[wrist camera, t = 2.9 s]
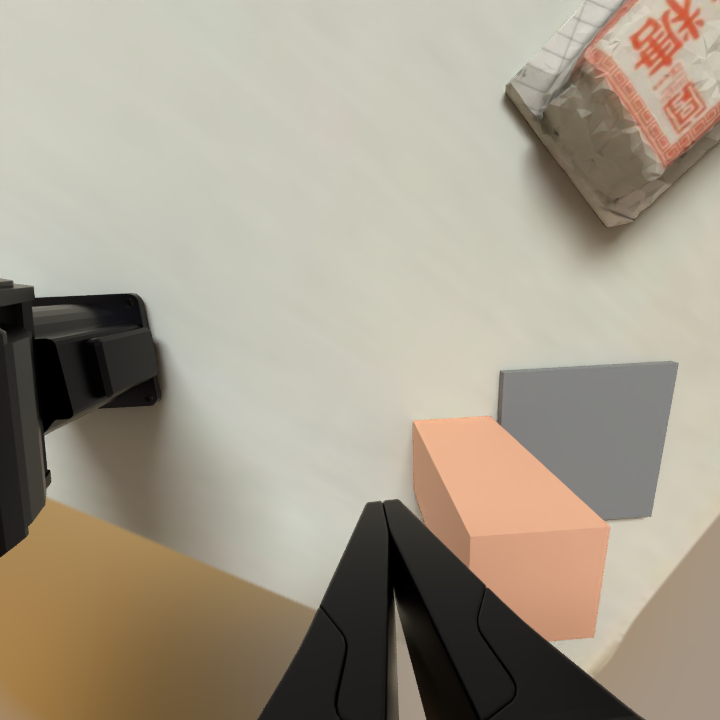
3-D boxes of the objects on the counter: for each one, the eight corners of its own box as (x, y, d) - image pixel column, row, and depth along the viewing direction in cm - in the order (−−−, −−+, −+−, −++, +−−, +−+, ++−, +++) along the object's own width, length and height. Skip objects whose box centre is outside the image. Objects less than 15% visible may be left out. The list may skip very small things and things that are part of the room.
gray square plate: (492, 522, 23) (495, 527, 23) (500, 370, 21) (504, 372, 20) (644, 511, 24) (651, 516, 23) (670, 361, 21) (678, 363, 21)
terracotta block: (413, 489, 22) (466, 647, 13) (412, 420, 21) (470, 536, 12) (486, 484, 23) (593, 637, 13) (490, 415, 21) (610, 526, 12)
